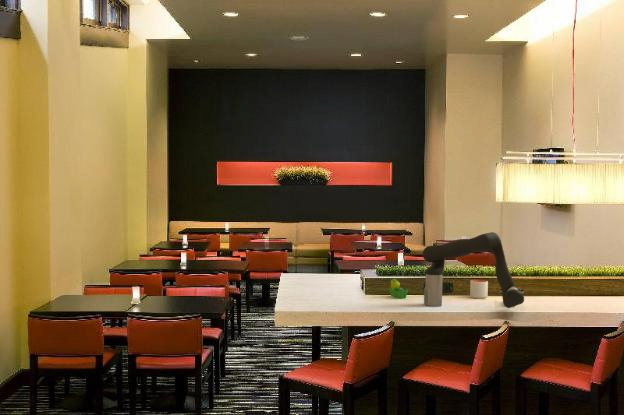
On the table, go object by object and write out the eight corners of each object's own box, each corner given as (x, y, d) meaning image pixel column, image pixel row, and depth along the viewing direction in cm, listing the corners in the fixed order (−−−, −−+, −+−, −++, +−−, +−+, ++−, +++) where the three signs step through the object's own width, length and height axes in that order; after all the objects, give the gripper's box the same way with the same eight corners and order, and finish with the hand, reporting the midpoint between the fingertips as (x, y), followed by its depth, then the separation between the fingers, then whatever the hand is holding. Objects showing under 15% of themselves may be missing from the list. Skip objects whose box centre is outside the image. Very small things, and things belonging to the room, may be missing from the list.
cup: (482, 299, 475) (483, 282, 474) (467, 297, 481) (467, 280, 481) (490, 297, 483) (490, 280, 482) (474, 295, 489) (475, 279, 488)
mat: (525, 310, 440) (525, 309, 440) (494, 309, 444) (494, 308, 444) (523, 303, 464) (523, 302, 464) (494, 302, 467) (494, 301, 467)
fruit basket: (408, 298, 475) (409, 279, 474) (395, 299, 472) (395, 280, 471) (399, 295, 485) (400, 276, 485) (386, 296, 482) (386, 277, 481)
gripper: (525, 287, 425) (524, 283, 441) (499, 286, 427) (499, 282, 444) (525, 301, 425) (523, 296, 442) (499, 300, 428) (498, 295, 445)
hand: (511, 289), depth 443 cm, fingers closed
